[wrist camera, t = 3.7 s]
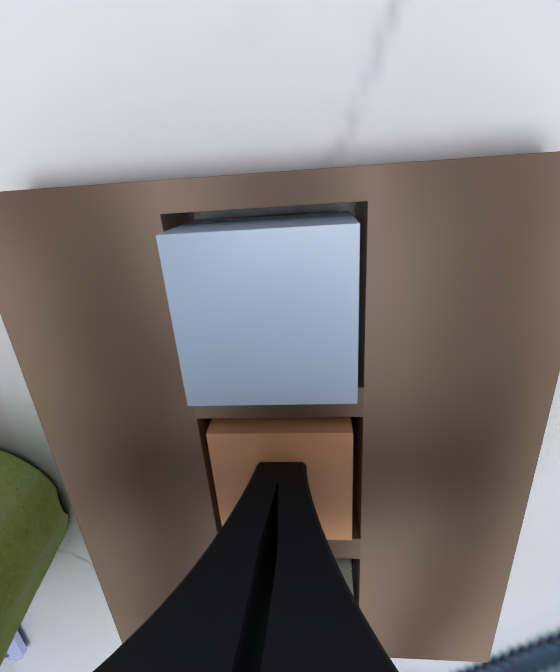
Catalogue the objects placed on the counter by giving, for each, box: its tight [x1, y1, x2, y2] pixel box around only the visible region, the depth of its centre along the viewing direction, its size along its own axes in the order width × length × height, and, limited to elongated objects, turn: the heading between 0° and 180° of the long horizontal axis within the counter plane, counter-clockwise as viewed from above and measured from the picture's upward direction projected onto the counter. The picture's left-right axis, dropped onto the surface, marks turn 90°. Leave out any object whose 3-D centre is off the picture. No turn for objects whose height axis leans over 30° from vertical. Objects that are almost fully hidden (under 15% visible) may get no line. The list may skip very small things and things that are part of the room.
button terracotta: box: [206, 417, 353, 540], centre depth 12 cm, size 4×4×2 cm
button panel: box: [0, 151, 560, 662], centre depth 13 cm, size 14×17×2 cm
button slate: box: [156, 211, 360, 406], centre depth 9 cm, size 4×4×2 cm
